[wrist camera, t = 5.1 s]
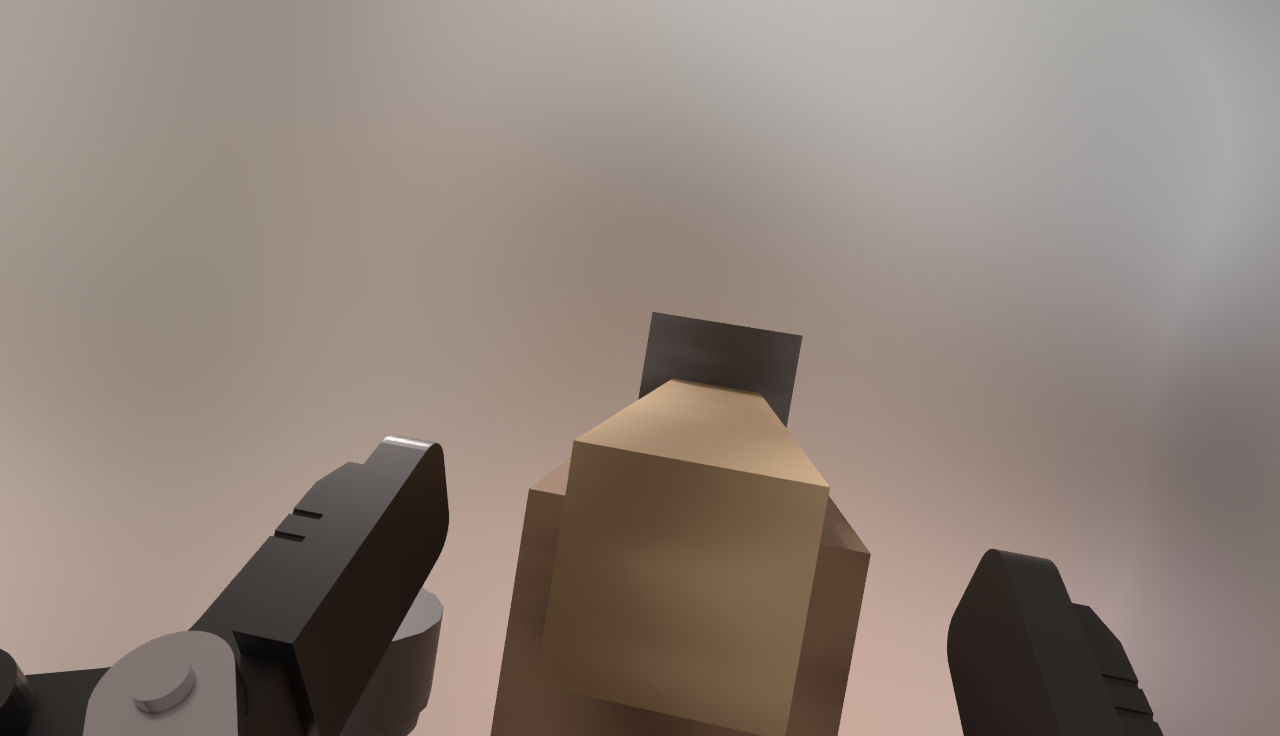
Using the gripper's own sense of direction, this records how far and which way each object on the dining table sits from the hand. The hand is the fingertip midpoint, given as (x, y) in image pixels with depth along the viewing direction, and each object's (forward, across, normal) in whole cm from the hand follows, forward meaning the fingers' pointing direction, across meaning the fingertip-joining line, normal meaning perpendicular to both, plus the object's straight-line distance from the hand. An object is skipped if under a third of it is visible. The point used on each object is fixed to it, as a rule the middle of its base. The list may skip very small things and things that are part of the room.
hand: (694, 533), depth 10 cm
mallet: (+5, 0, +4) cm, 7 cm away
